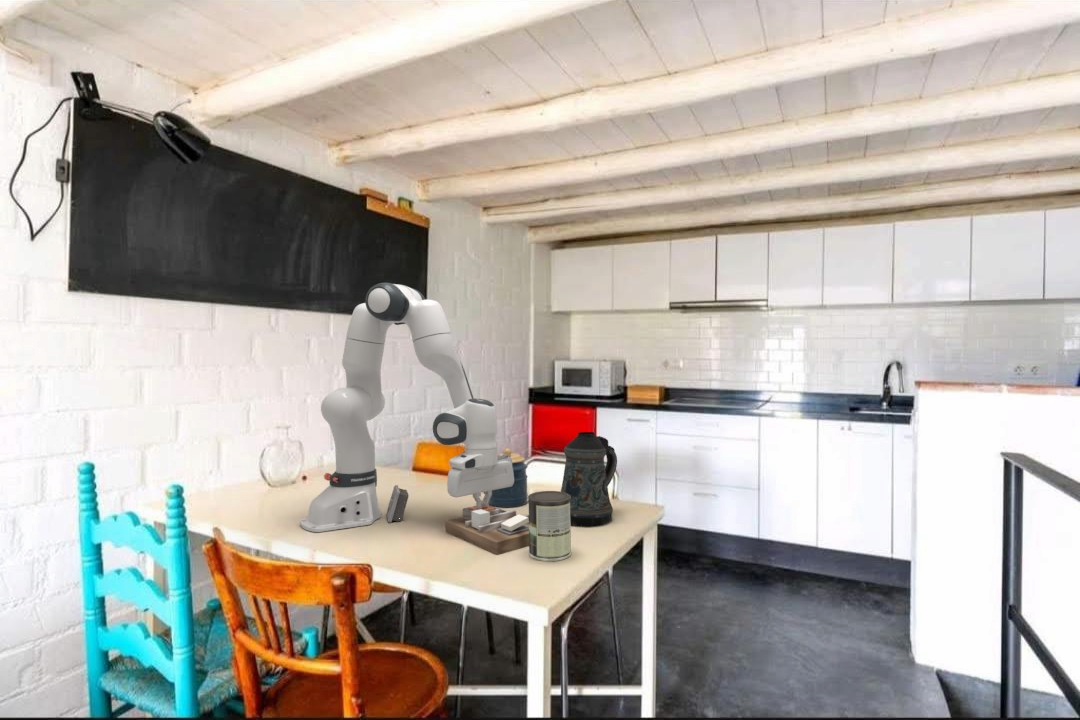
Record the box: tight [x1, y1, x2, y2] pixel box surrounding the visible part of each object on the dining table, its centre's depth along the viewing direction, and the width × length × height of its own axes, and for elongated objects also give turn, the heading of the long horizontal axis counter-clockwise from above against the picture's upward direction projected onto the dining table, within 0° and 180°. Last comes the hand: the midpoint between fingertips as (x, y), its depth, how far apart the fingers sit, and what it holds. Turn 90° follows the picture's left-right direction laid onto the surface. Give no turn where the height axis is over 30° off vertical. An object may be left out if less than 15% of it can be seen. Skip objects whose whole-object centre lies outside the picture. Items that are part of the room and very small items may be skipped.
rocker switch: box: [501, 513, 529, 531], centre depth 149 cm, size 6×4×1 cm, turn 130°
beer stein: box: [560, 431, 618, 528], centre depth 170 cm, size 16×19×25 cm
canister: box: [488, 447, 529, 508], centre depth 188 cm, size 13×13×18 cm
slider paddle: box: [471, 509, 490, 529], centre depth 151 cm, size 3×4×4 cm
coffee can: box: [527, 490, 572, 562], centre depth 140 cm, size 10×10×14 cm
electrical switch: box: [386, 484, 409, 524], centre depth 172 cm, size 9×5×9 cm, turn 18°
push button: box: [469, 505, 494, 511], centre depth 161 cm, size 5×5×2 cm
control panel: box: [444, 504, 529, 556], centre depth 155 cm, size 18×24×6 cm
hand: (482, 507), depth 161 cm, fingers closed, pressing on push button
